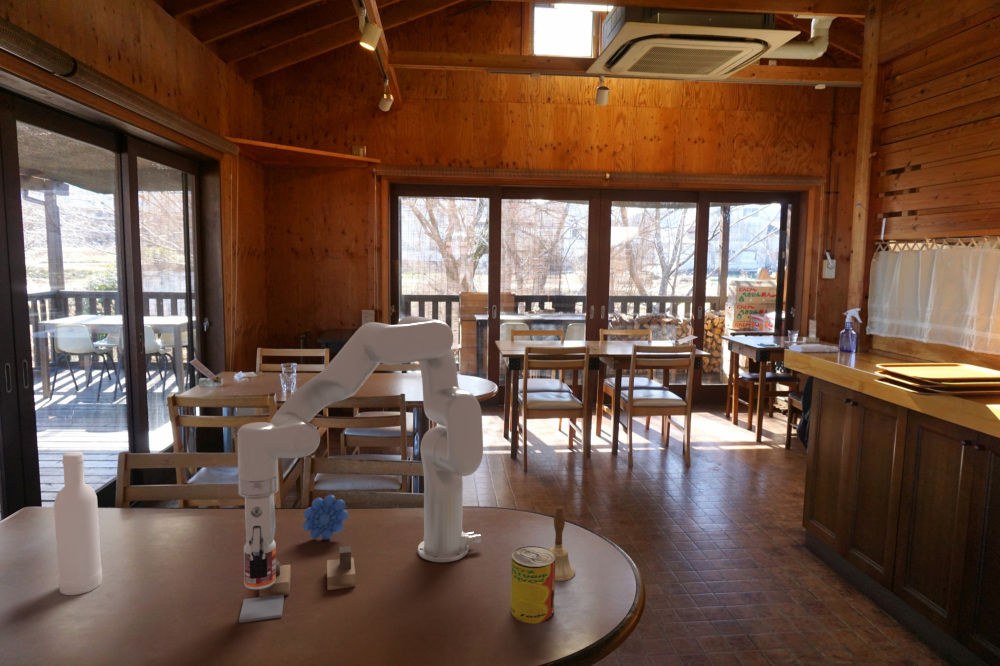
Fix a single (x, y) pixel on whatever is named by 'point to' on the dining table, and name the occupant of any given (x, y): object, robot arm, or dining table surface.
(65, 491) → the bottle
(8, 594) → the dining table surface
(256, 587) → the pill bottle
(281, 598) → the coaster
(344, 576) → the wooden knob block
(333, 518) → the blue flower
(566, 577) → the hand bell
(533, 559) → the beverage can
